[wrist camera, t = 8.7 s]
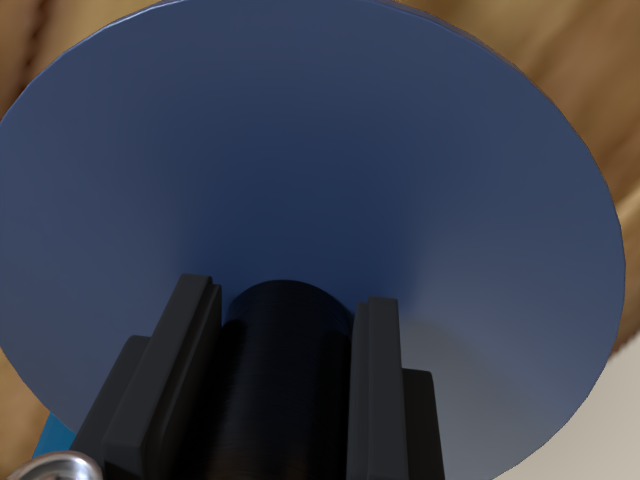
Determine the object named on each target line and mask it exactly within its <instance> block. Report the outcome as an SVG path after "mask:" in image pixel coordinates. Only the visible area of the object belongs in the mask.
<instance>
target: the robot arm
mask: <svg viewBox="0 0 640 480" xmlns="http://www.w3.org/2000/svg"><path fill="white" fill-rule="evenodd" d="M221 329H222V286H221V285H218V284H213V280H212V277H211V276H205V275H197V274H189V273H183V274H182V275H181V276H180V278H179V280H178V282H177V284H176V286H175V288H174V290H173V293H172V295H171V297H170V299H169V301H168V303H167V305H166V307H165V309H164V311H163V313H162V315H161V318H160V320H159V322H158V324H157V326H156V328H155V330H154V332H153V334H152V336H151V337H147V336H139V335H132V336H130V337H129V338H128V340H127V341H126V343H125V345H124V346H123V348H122V350H121V352H120V354H119V356H118V358H117V360H116V361H115V363H114V365H113V367H112V369H111V371H110V373H109V375H108V377H107V378H106V380H105V382H104V384H103V386H102V388H101V390H100V392H99V394H98V395H97V397H96V399H95V401H94V403H93V405H92V407H91V409H90V411H89V412H88V414H87V416H86V418H85V420H84V422H83V424H82V426H81V428H80V429H79V431H78V433H77V435H76V437H75V439H74V441H73V443H72V444H71V446H70V448H69V450H63V451H52V452H49V453H46V454H42V455H39V456H37V457H35V458H33V459H31V460H29V461H27V462H25V463H24V464H22V465H21V466H20V467H19V468H17V469H16V470H15V471H14V472H13V473H12V474H10V475H9V477H8V478H7V479H6V480H172V477H173V474H174V471H175V468H176V465H177V462H178V459H179V456H180V453H181V450H182V447H183V444H184V441H185V438H186V435H187V432H188V429H189V426H190V422H191V419H192V416H193V413H194V410H195V407H196V404H197V401H198V398H199V395H200V392H201V389H202V386H203V383H204V380H205V377H206V374H207V371H208V368H209V365H210V362H211V359H212V356H213V353H214V350H215V347H216V344H217V341H218V338H219V335H220V332H221ZM345 480H445V473H444V465H443V457H442V448H441V440H440V432H439V424H438V416H437V408H436V399H435V391H434V383H433V377H432V374H431V372H430V371H424V370H416V369H407V368H402V359H401V343H400V327H399V311H398V300H397V299H395V298H387V297H379V296H371V295H370V296H369V298H368V302H357V307H356V313H355V319H354V325H353V331H352V337H351V347H350V369H349V391H348V414H347V436H346V458H345Z"/></svg>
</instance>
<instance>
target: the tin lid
mask: <svg viewBox="0 0 640 480" xmlns="http://www.w3.org/2000/svg"><path fill="white" fill-rule="evenodd" d="M625 272H626V262H625V254H624V247H623V240H622V232H621V225H620V222H619V219H618V216H617V213H616V210H615V207H614V203H613V200H612V197H611V194H610V191H609V188H608V185H607V183H606V181H605V180H604V178H603V176H602V174H601V172H600V170H599V168H598V166H597V164H596V162H595V160H594V158H593V157H592V155H591V153H590V151H589V149H588V147H587V146H586V144H585V143H584V142H583V140H582V139H581V138H580V136H579V135H578V134H577V132H576V131H575V130H574V128H573V127H572V126H571V125H570V123H569V122H568V121H567V119H566V118H565V117H564V115H563V114H562V113H561V111H560V110H559V109H558V107H557V106H556V105H555V104H554V103H553V101H552V100H551V99H550V98H549V97H548V96H547V95H546V94H545V93H544V92H543V91H542V90H541V89H540V88H539V87H538V86H536V85H535V84H534V83H533V82H532V81H531V80H530V79H529V78H528V77H527V76H526V75H525V74H524V73H523V72H522V71H521V70H520V69H519V68H518V67H517V66H516V65H514V64H513V63H511V62H510V61H509V60H507V59H506V58H504V57H503V56H501V55H500V54H499V53H497V52H496V51H494V50H493V49H492V48H490V47H489V46H487V45H486V44H484V43H483V42H482V41H480V40H479V39H477V38H476V37H475V36H473V35H471V34H469V33H467V32H465V31H463V30H461V29H459V28H457V27H455V26H453V25H451V24H449V23H447V22H445V21H443V20H441V19H439V18H437V17H435V16H433V15H431V14H429V13H427V12H424V11H422V10H419V9H416V8H413V7H410V6H407V5H404V4H401V3H398V2H395V1H392V0H162V1H159V2H157V3H155V4H152V5H150V6H148V7H145V8H143V9H141V10H138V11H136V12H133V13H131V14H129V15H126V16H124V17H122V18H119V19H117V20H115V21H113V22H111V23H110V24H108V25H106V26H104V27H103V28H101V29H100V30H98V31H96V32H95V33H93V34H92V35H90V36H88V37H87V38H85V39H84V40H82V41H80V42H79V43H77V44H76V45H74V46H72V47H71V48H69V49H68V50H66V51H65V52H63V53H62V54H61V55H60V56H59V57H58V58H57V59H55V60H54V61H53V62H52V63H51V64H50V65H49V66H48V67H47V68H45V69H44V70H43V71H42V72H41V73H40V74H39V75H38V76H36V77H35V78H34V79H33V80H32V81H31V82H30V83H29V84H28V86H27V87H26V88H25V89H24V91H23V92H22V93H21V95H20V96H19V97H18V98H17V100H16V101H15V102H14V104H13V105H12V106H11V107H10V109H9V110H8V111H7V112H6V114H5V115H4V117H3V119H2V121H1V123H0V347H1V349H2V351H3V353H4V354H5V356H6V357H7V358H8V360H9V361H10V363H11V364H12V366H13V367H14V369H15V370H16V372H17V373H18V375H19V376H20V378H21V379H22V381H23V382H24V383H25V384H26V385H27V386H28V388H29V389H30V390H31V391H32V392H33V393H34V395H35V396H36V397H37V398H38V399H39V400H40V402H41V403H42V404H43V405H44V406H45V407H46V408H47V409H48V410H49V411H50V412H51V413H52V414H53V415H55V416H56V417H57V418H58V419H59V420H60V421H61V422H62V423H63V424H64V425H65V426H66V427H67V428H68V429H70V430H71V431H72V432H74V433H75V434H76V435H77V433H78V431H79V429H80V428H81V426H82V424H83V422H84V420H85V418H86V416H87V414H88V412H89V411H90V409H91V407H92V405H93V403H94V401H95V399H96V397H97V395H98V394H99V392H100V390H101V388H102V386H103V384H104V382H105V380H106V378H107V377H108V375H109V373H110V371H111V369H112V367H113V365H114V363H115V361H116V360H117V358H118V356H119V354H120V352H121V350H122V348H123V346H124V345H125V343H126V341H127V340H128V338H129V337H130V336H132V335H139V336H147V337H151V336H152V334H153V332H154V330H155V328H156V326H157V324H158V322H159V320H160V318H161V315H162V313H163V311H164V309H165V307H166V305H167V303H168V301H169V299H170V297H171V295H172V293H173V290H174V288H175V286H176V284H177V282H178V280H179V278H180V276H181V275H182V274H183V273H189V274H197V275H205V276H211V277H212V280H213V284H218V285H221V286H222V329H221V332H220V335H219V338H218V341H217V344H216V347H215V350H214V353H213V356H212V359H211V362H210V365H209V368H208V371H207V374H206V377H205V380H204V383H203V386H202V389H201V392H200V395H199V398H198V401H197V404H196V407H195V410H194V413H193V416H192V419H191V422H190V426H189V429H188V432H187V435H186V438H185V441H184V444H183V447H182V450H181V453H180V456H179V459H178V462H177V465H176V468H175V471H174V474H173V477H172V480H345V458H346V436H347V414H348V391H349V369H350V347H351V337H352V331H353V325H354V319H355V313H356V307H357V302H368V298H369V296H370V295H371V296H379V297H387V298H395V299H397V300H398V311H399V327H400V343H401V359H402V368H407V369H416V370H424V371H430V372H431V374H432V377H433V383H434V391H435V399H436V408H437V416H438V424H439V432H440V440H441V448H442V457H443V465H444V473H445V480H492V479H494V478H495V477H497V476H499V475H501V474H502V473H504V472H506V471H507V470H509V469H511V468H513V467H514V466H516V465H518V464H519V463H520V462H522V461H523V460H524V459H526V458H527V457H528V456H530V455H531V454H532V453H534V452H535V451H536V450H538V449H539V448H540V447H542V446H543V445H544V444H545V443H546V442H547V441H548V440H549V439H550V438H551V437H553V435H555V434H556V433H557V432H558V431H559V430H560V429H561V428H562V427H563V426H564V425H565V424H566V423H567V422H568V421H569V420H570V418H571V417H572V416H573V415H574V413H575V412H576V411H577V409H578V408H579V407H580V406H581V404H582V403H583V402H584V400H585V399H586V398H587V397H588V395H589V394H590V392H591V390H592V388H593V387H594V385H595V383H596V381H597V380H598V378H599V376H600V375H601V373H602V371H603V370H604V368H605V365H606V363H607V360H608V358H609V355H610V353H611V350H612V347H613V345H614V342H615V340H616V337H617V333H618V329H619V324H620V319H621V315H622V310H623V305H624V298H625Z"/></svg>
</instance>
